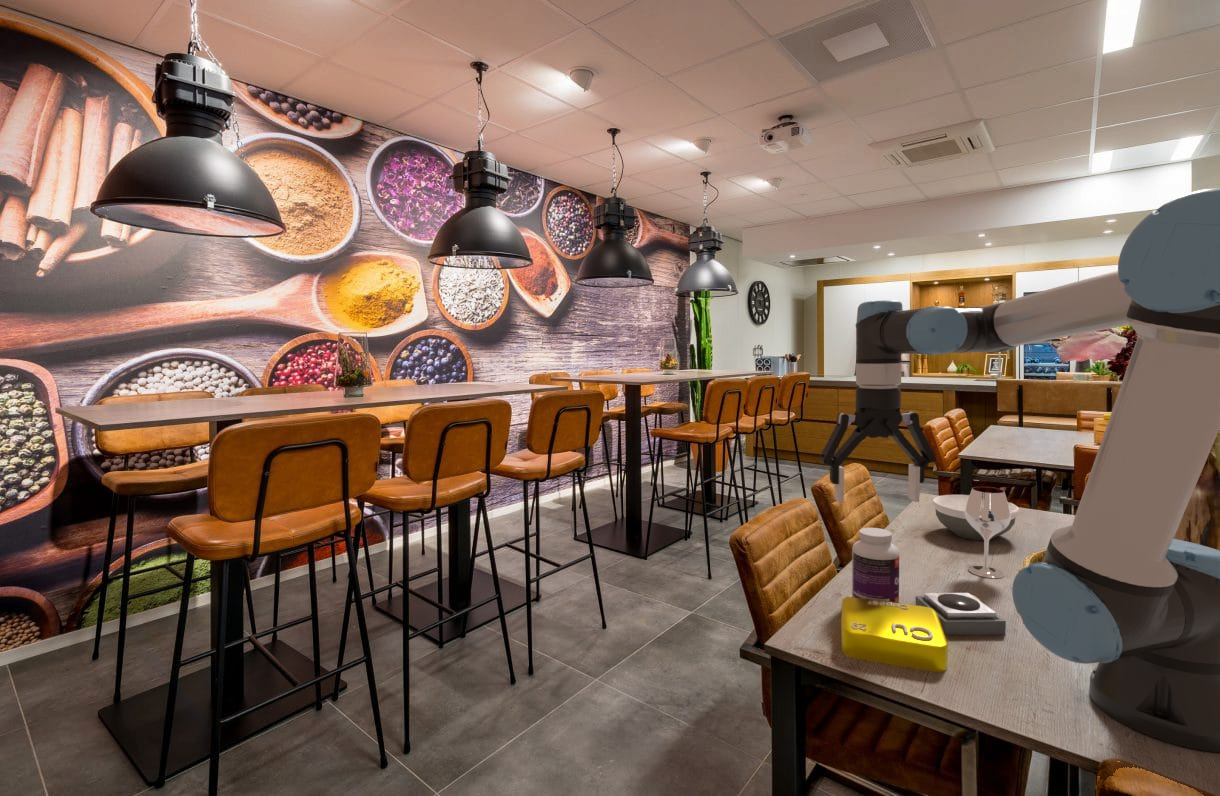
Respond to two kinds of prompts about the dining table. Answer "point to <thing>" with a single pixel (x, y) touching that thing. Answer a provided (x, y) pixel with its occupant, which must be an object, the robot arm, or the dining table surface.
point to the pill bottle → (875, 566)
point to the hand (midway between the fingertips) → (876, 500)
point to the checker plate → (959, 606)
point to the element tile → (893, 634)
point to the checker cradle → (968, 624)
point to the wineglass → (987, 521)
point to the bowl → (963, 516)
